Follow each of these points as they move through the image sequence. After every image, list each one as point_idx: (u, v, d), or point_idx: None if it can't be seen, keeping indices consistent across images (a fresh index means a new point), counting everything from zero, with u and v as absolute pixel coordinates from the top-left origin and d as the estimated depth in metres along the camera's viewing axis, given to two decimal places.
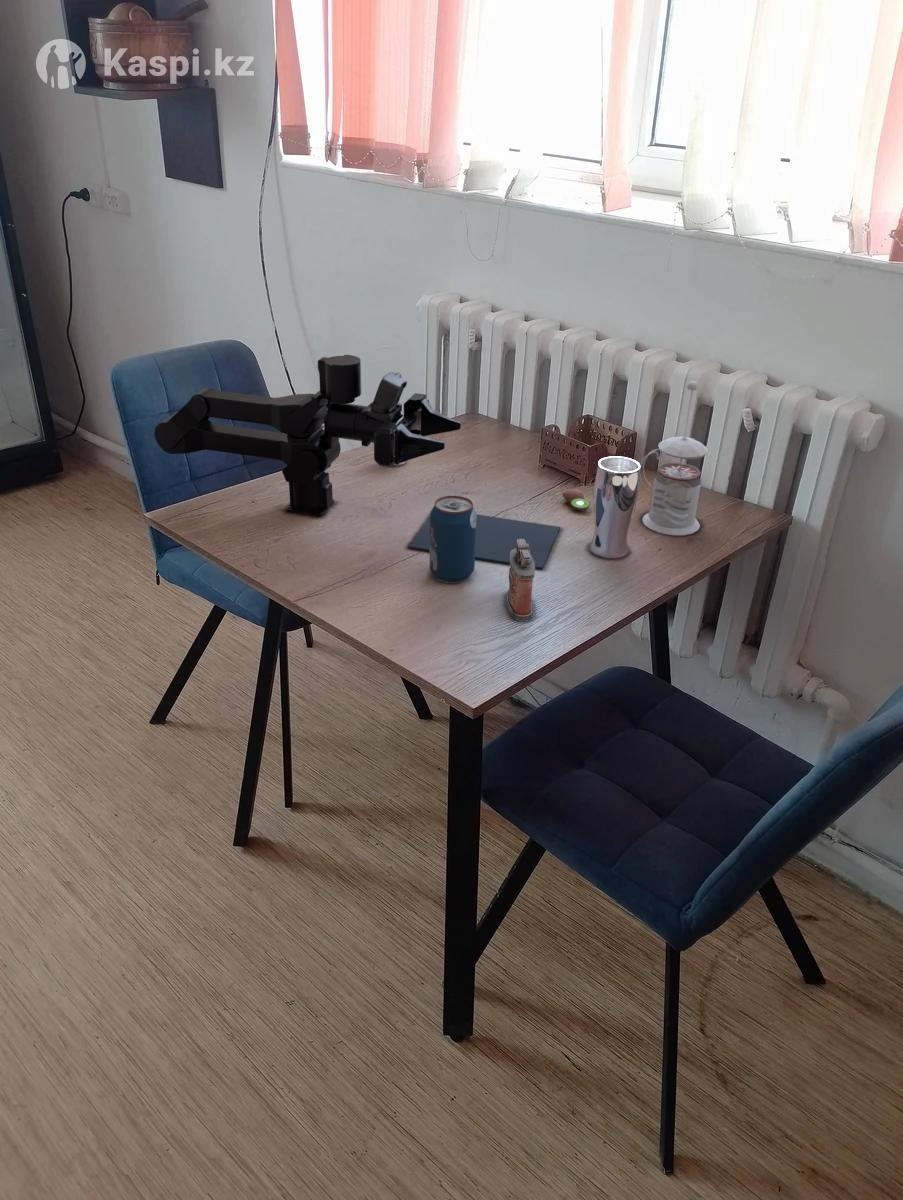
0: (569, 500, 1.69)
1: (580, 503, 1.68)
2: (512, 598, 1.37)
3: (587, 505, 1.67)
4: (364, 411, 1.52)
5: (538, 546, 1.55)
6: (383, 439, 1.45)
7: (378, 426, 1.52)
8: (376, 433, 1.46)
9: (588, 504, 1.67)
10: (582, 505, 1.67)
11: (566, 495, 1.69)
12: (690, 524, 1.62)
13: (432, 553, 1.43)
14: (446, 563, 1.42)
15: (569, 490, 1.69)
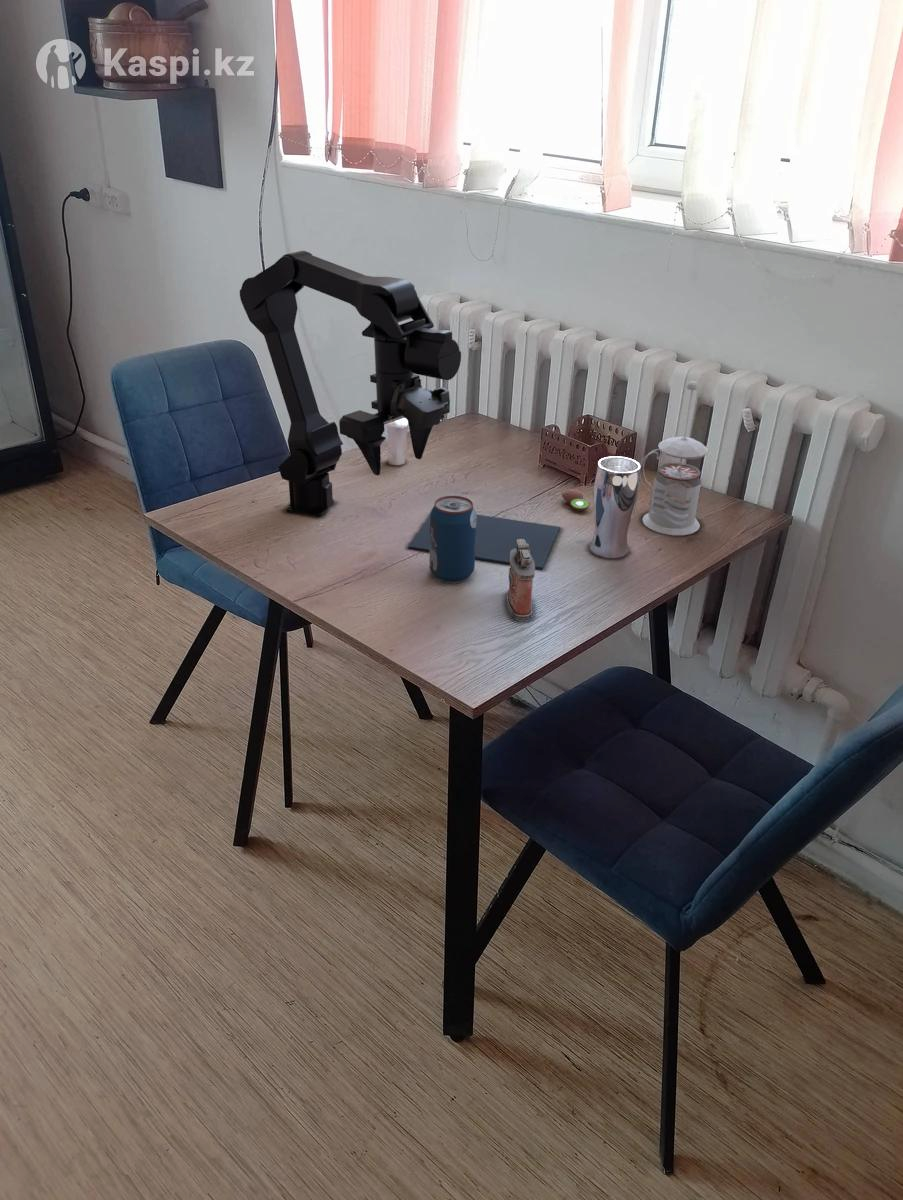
0: (569, 500, 1.69)
1: (580, 503, 1.67)
2: (512, 598, 1.37)
3: (587, 505, 1.67)
4: (397, 386, 1.40)
5: (538, 546, 1.55)
6: (358, 433, 1.39)
7: (387, 400, 1.43)
8: (362, 426, 1.39)
9: (588, 504, 1.67)
10: (582, 505, 1.67)
11: (565, 496, 1.69)
12: (690, 524, 1.62)
13: (432, 553, 1.43)
14: (446, 563, 1.42)
15: (568, 490, 1.69)
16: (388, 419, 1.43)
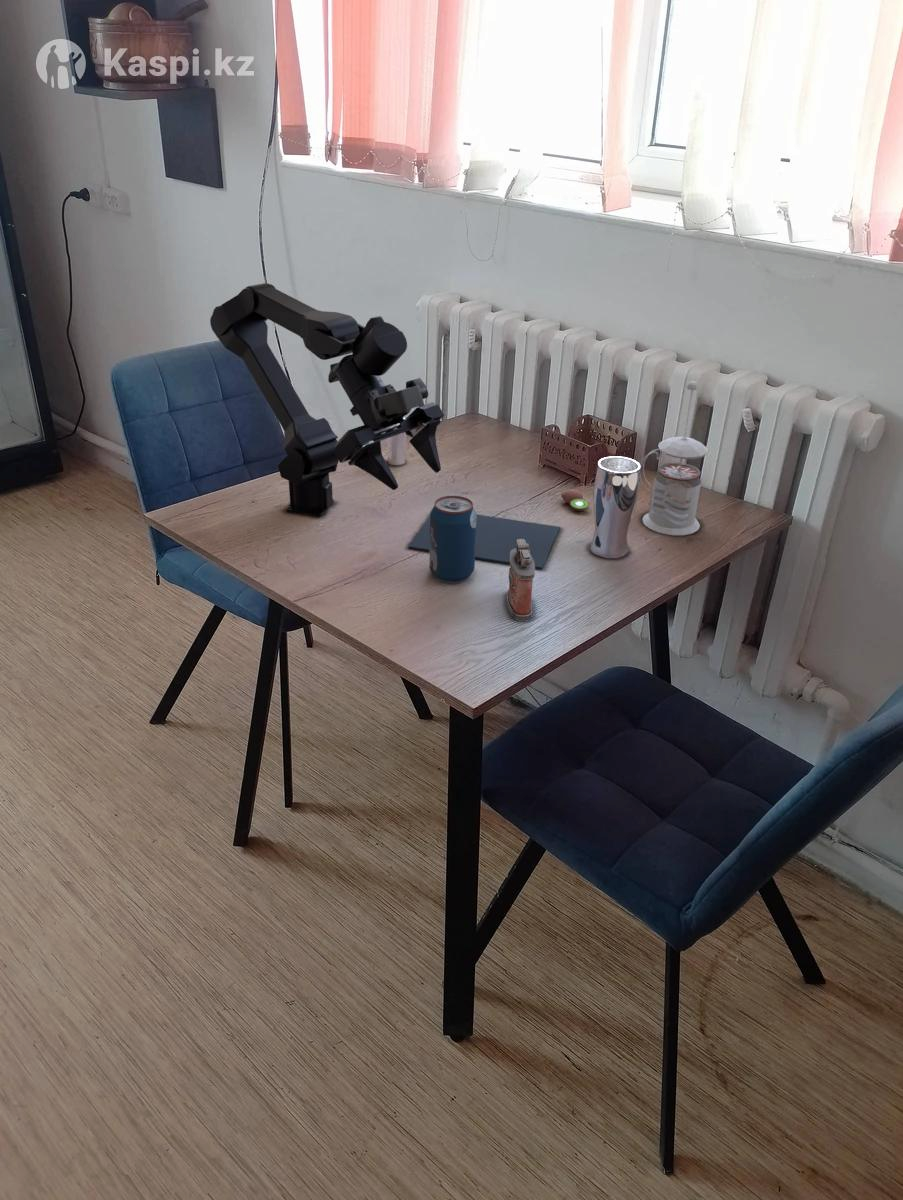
0: (568, 501, 1.69)
1: (579, 504, 1.67)
2: (512, 598, 1.37)
3: (586, 505, 1.67)
4: (370, 393, 1.41)
5: (538, 546, 1.55)
6: (349, 443, 1.38)
7: (370, 415, 1.43)
8: (349, 433, 1.37)
9: (587, 504, 1.67)
10: (581, 506, 1.67)
11: (565, 496, 1.69)
12: (690, 524, 1.62)
13: (432, 553, 1.43)
14: (446, 563, 1.42)
15: (568, 491, 1.69)
16: None
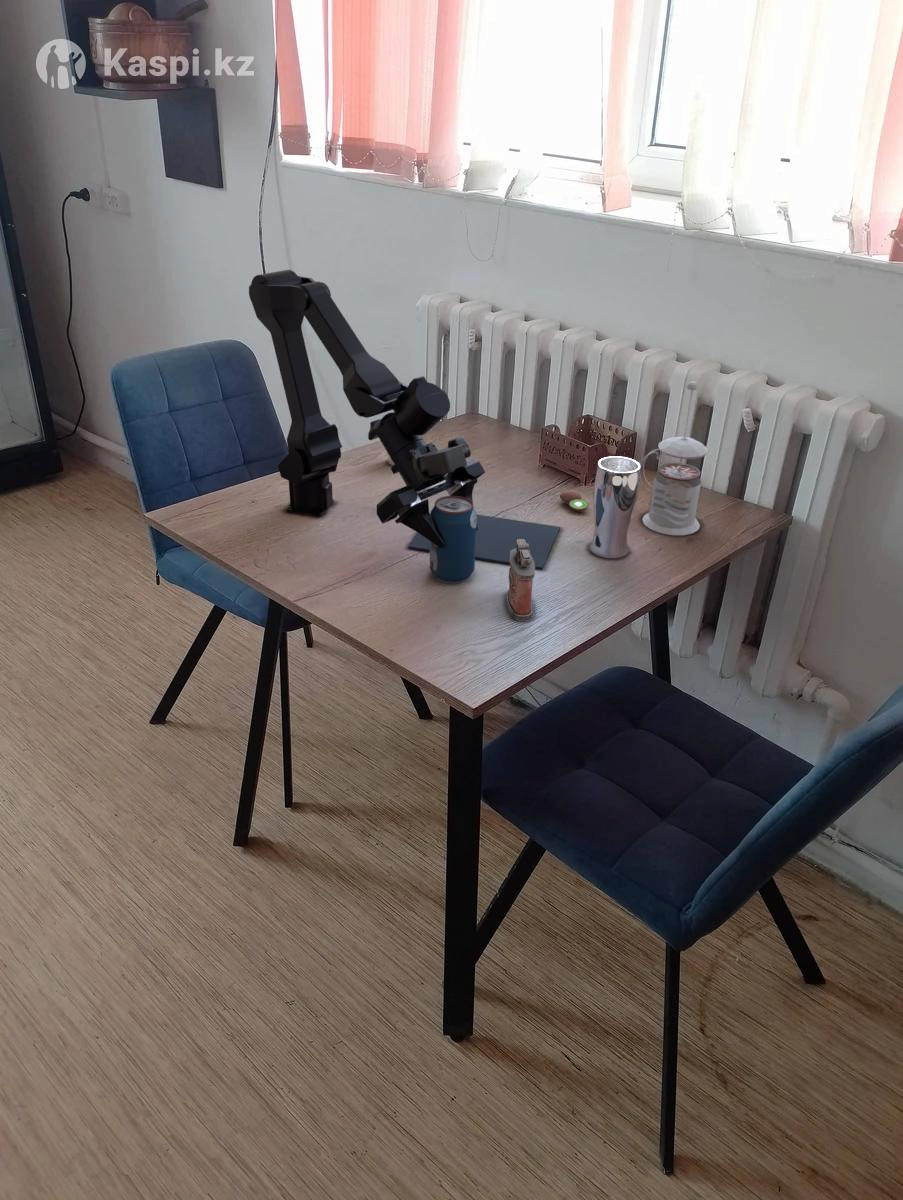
0: (567, 501, 1.69)
1: (578, 504, 1.67)
2: (512, 598, 1.37)
3: (585, 506, 1.67)
4: (412, 453, 1.40)
5: (538, 546, 1.55)
6: (392, 505, 1.36)
7: (411, 475, 1.41)
8: (392, 495, 1.36)
9: (586, 505, 1.67)
10: (580, 506, 1.67)
11: (563, 497, 1.69)
12: (690, 524, 1.62)
13: (432, 553, 1.43)
14: (446, 563, 1.42)
15: (566, 491, 1.69)
16: (426, 488, 1.41)
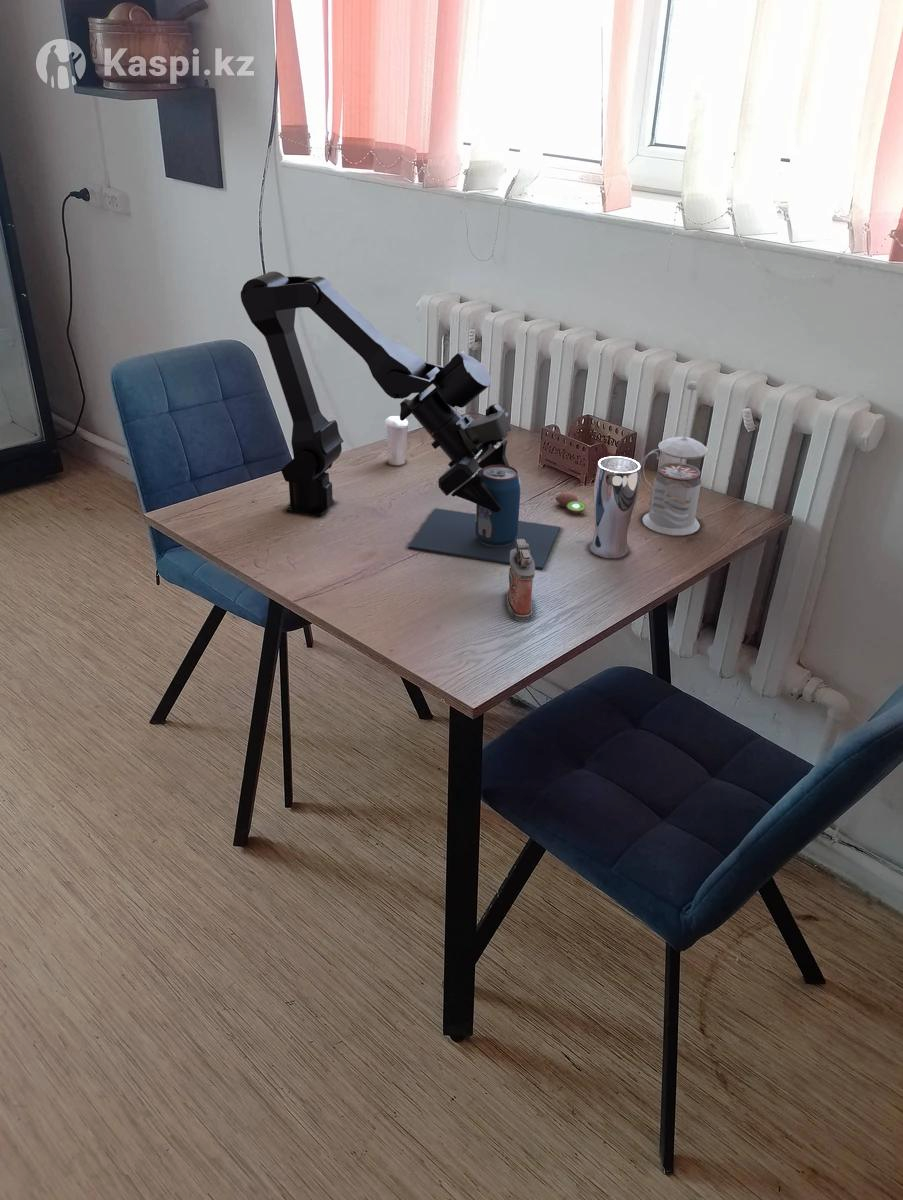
0: (564, 504, 1.68)
1: (576, 506, 1.67)
2: (512, 598, 1.37)
3: (583, 507, 1.66)
4: (459, 425, 1.47)
5: (538, 546, 1.55)
6: (462, 475, 1.43)
7: (459, 446, 1.48)
8: (460, 466, 1.42)
9: (584, 506, 1.66)
10: (578, 508, 1.66)
11: (560, 499, 1.68)
12: (690, 524, 1.62)
13: (484, 521, 1.52)
14: (501, 528, 1.52)
15: (563, 493, 1.68)
16: None
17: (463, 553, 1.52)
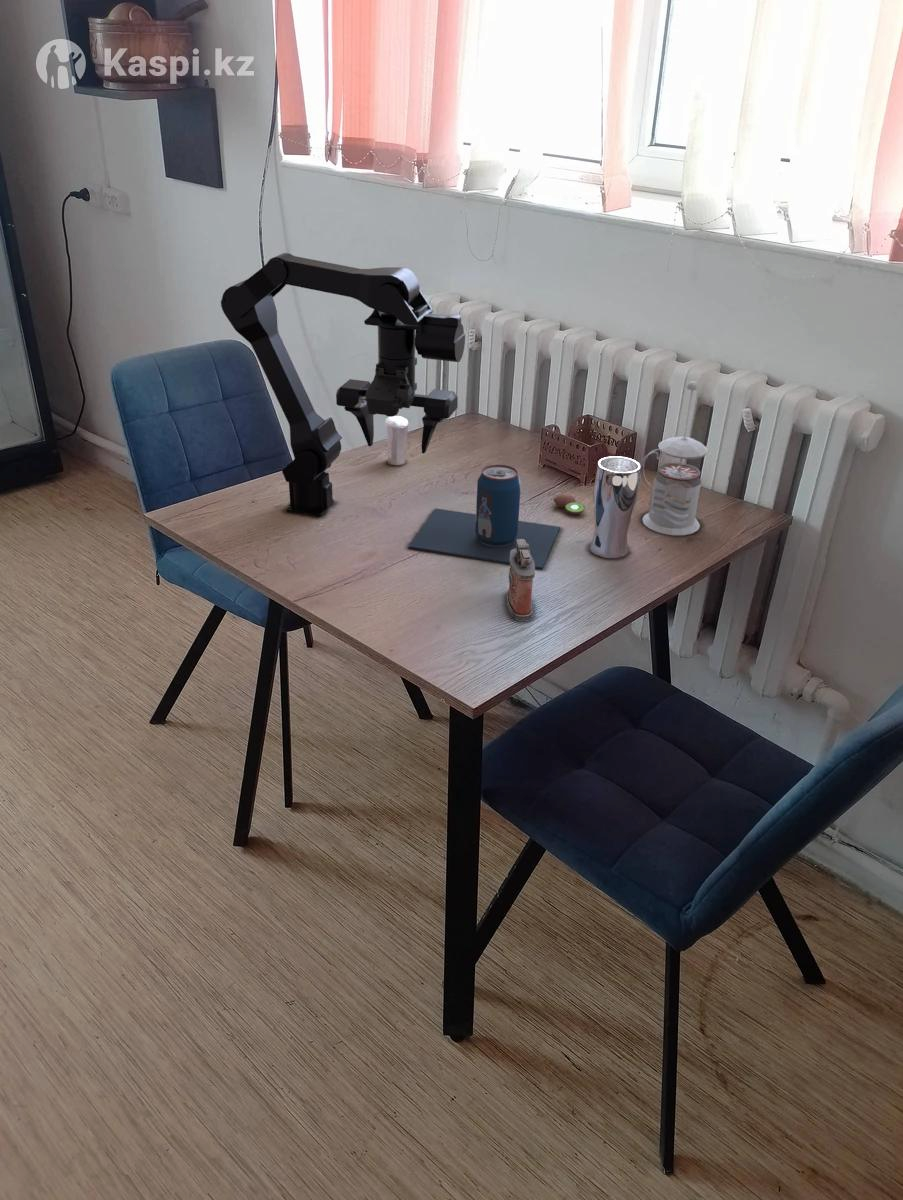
0: (562, 505, 1.68)
1: (575, 507, 1.66)
2: (512, 598, 1.37)
3: (582, 508, 1.66)
4: (376, 368, 1.47)
5: (538, 546, 1.55)
6: None
7: None
8: (338, 390, 1.51)
9: (583, 507, 1.66)
10: (577, 509, 1.66)
11: (558, 501, 1.68)
12: (690, 524, 1.62)
13: (484, 521, 1.52)
14: (501, 528, 1.52)
15: (561, 495, 1.68)
16: None
17: (463, 553, 1.52)
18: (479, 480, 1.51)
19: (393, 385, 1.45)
